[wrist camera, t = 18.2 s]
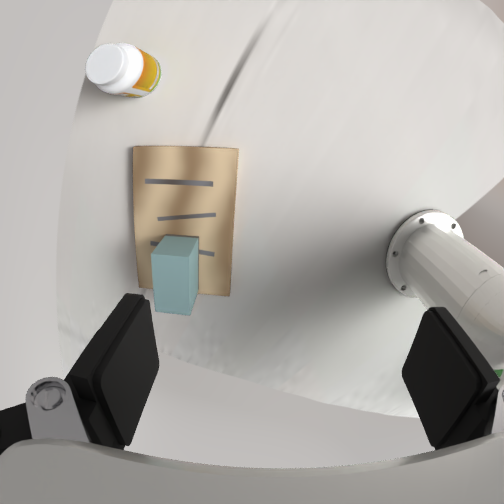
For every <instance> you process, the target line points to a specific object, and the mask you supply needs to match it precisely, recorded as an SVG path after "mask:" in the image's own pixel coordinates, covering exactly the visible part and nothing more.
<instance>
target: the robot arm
mask: <svg viewBox="0 0 504 504" xmlns="http://www.w3.org/2000/svg"><path fill="white" fill-rule="evenodd" d="M419 219H420V220H419ZM393 252H394V253H393ZM386 267H387V273H388V276H389V279H390V280H391V282H392V284H393V285H394V286H395V288H396V289H397V290H398V291H399V292H400V293H402V294H404V295H406V296H409V297H413V298H419V300H420V301H421V302H422V304H423V305H424V306H425V307H426V309H427V311H426V312H425V313H424V314H423V317H422V320H421V322H420V325H419V328H418V331H417V333H416V336H415V339H414V341H413V344H412V346H411V349H410V351H409V354H408V356H407V359H406V361H405V363H404V366H403V368H402V377H403V380H404V382H405V384H406V387H407V389H408V391H409V393H410V396H411V398H412V400H413V403H414V405H415V407H416V410H417V412H418V415H419V417H420V419H421V422H422V424H423V427H424V429H425V432H426V435H427V437H428V440H429V442H430V444H431V446H433V447H435V451H431V452H426V453H422V454H418V455H413V456H407V457H402V458H397V459H391V460H385V461H378V462H371V463H364V464H355V465H347V466H334V467H319V468H288V469H287V468H286V469H277V468H275V469H273V468H245V467H244V468H243V467H229V466H218V465H208V464H199V463H192V462H185V461H178V460H172V459H165V458H159V457H153V456H149V455H143V454H138V453H133V452H129V451H125V450H124V447H125V445H126V446H129V445H130V444H131V442H132V439H133V436H134V433H135V431H136V428H137V425H138V422H139V420H140V417H141V414H142V411H143V409H144V406H145V404H146V401H147V398H148V396H149V393H150V390H151V388H152V385H153V383H154V380H155V377H156V375H157V372H158V369H159V358H158V352H157V347H156V341H155V335H154V329H153V322H152V315H151V309H150V302H149V300H146V299H145V298H144V296H143V295H140V294H130V293H126V294H125V295H124V296H123V298H122V299H121V300H120V302H119V303H118V305H117V306H116V307H115V309H114V310H113V311H112V313H111V314H110V315H109V317H108V318H107V320H106V321H105V322H104V324H103V325H102V327H101V328H100V329H99V330H98V331H97V332H96V334H95V335H94V336H93V338H92V339H91V341H90V342H89V344H88V345H87V347H86V348H85V349H84V351H83V352H82V354H81V355H80V357H79V358H78V360H77V361H76V363H75V364H74V366H73V367H72V369H71V370H70V372H69V373H68V375H67V376H66V378H65V379H64V380H62V379H60V378H57V377H48V378H43V379H40V380H38V381H37V382H36V383H34V384H32V385H31V387H30V388H29V389H28V391H27V394H26V403H23V404H20V405H17V406H14V407H10V408H7V409H4V410H1V411H0V504H504V268H503V267H502V266H500V265H499V264H498V263H496V262H495V261H494V260H492V259H491V258H489V257H488V256H487V255H486V254H484V253H483V252H482V251H480V250H479V249H477V248H476V247H475V246H473V245H472V244H470V243H469V242H468V241H466V240H465V239H464V237H463V233H462V230H461V228H460V226H459V224H458V223H457V222H456V221H455V220H454V218H452V217H451V216H449V215H448V214H446V213H444V212H441V211H437V210H426V211H423V212H420V213H417V214H416V215H414V216H412V217H410V218H409V219H408V220H407V221H405V222H404V223H403V224H402V225H401V226H400V228H399V229H398V230H397V232H396V233H395V235H394V236H393V238H392V240H391V243H390V245H389V248H388V252H387V259H386ZM493 369H503V373H502V375H501V376H500V378H499V377H498V376H497V374H496V373H495V371H494V370H493Z"/></svg>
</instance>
